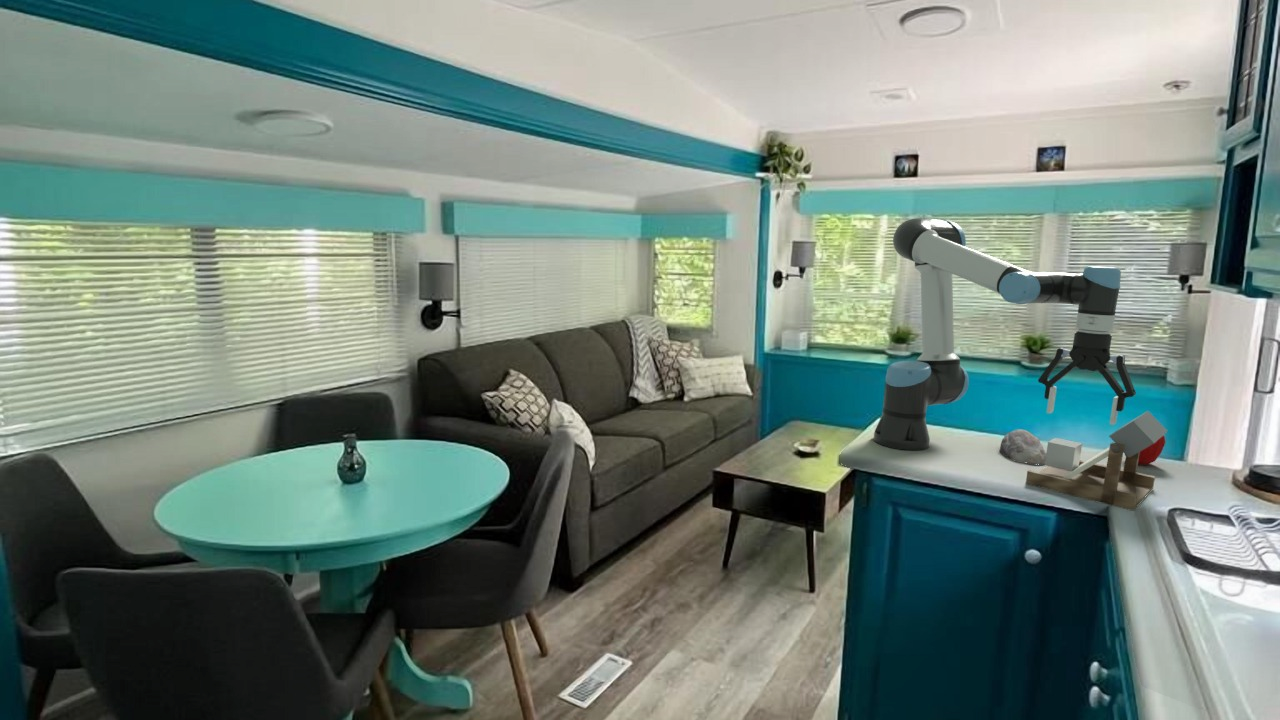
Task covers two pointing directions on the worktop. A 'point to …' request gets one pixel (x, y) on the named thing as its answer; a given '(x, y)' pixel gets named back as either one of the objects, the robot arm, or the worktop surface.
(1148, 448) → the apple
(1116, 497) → the wooden trebuchet model
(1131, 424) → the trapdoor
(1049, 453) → the granite block
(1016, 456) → the stone
